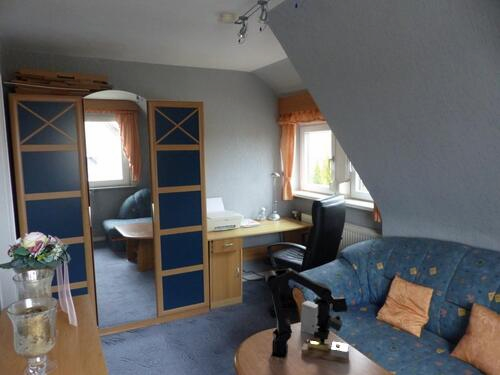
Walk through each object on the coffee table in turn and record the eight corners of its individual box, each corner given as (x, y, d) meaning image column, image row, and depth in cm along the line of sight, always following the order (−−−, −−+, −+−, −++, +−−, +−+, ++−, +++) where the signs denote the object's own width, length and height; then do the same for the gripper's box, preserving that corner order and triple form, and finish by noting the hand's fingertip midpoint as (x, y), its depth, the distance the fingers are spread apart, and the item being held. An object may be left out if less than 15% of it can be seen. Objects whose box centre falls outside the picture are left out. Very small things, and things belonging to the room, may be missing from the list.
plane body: (301, 355, 171) (301, 349, 171) (303, 349, 176) (303, 343, 176) (348, 364, 164) (348, 357, 164) (348, 357, 170) (349, 351, 169)
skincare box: (300, 330, 194) (300, 303, 192) (306, 326, 199) (306, 299, 197) (314, 335, 189) (315, 307, 187) (320, 331, 194) (320, 303, 192)
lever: (304, 347, 172) (304, 341, 171) (305, 344, 174) (305, 338, 174) (328, 351, 168) (328, 345, 168) (328, 348, 171) (329, 342, 170)
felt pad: (318, 349, 176) (318, 349, 176) (320, 342, 182) (320, 341, 182) (335, 352, 173) (335, 352, 173) (337, 345, 180) (337, 344, 180)
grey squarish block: (331, 355, 166) (331, 347, 166) (332, 347, 172) (332, 340, 172) (347, 358, 164) (347, 350, 163) (348, 350, 170) (348, 343, 169)
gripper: (339, 323, 160) (338, 357, 162) (343, 306, 178) (342, 336, 180) (314, 319, 164) (313, 353, 166) (319, 303, 181) (319, 333, 183)
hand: (322, 343), depth 173 cm, fingers closed
